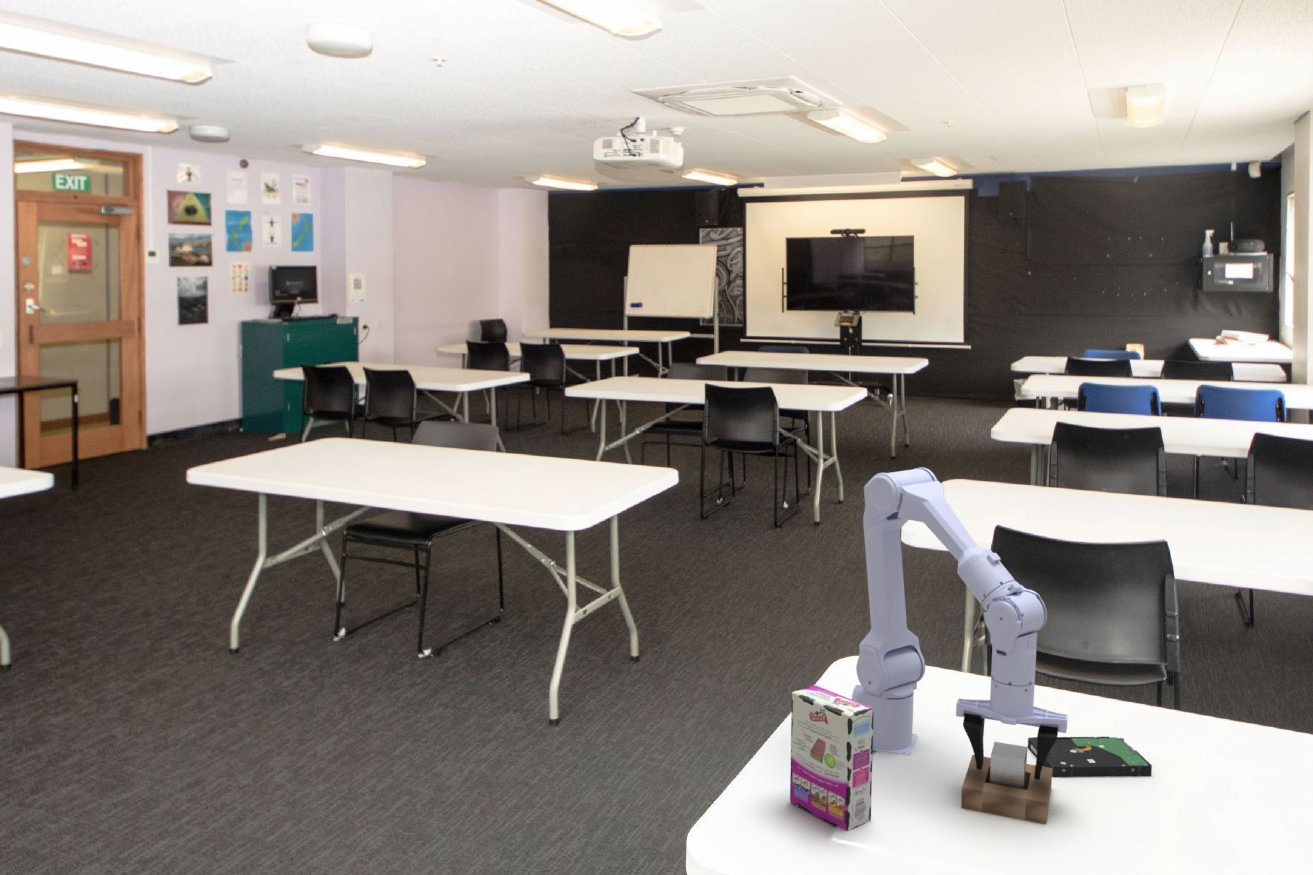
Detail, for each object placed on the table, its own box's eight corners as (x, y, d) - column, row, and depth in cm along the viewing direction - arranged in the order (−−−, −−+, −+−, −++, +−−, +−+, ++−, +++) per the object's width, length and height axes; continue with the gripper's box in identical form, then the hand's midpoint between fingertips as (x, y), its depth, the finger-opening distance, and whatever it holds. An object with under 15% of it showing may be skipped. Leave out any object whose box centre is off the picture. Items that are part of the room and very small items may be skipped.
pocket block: (961, 811, 144) (962, 787, 144) (971, 776, 154) (972, 754, 154) (1046, 827, 140) (1047, 802, 139) (1051, 791, 150) (1052, 768, 149)
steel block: (988, 801, 146) (991, 754, 145) (992, 787, 150) (994, 741, 149) (1022, 807, 144) (1024, 759, 143) (1024, 793, 148) (1027, 746, 147)
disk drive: (1052, 785, 153) (1152, 782, 153) (1053, 767, 153) (1153, 764, 153) (1025, 753, 163) (1119, 751, 164) (1026, 736, 163) (1120, 734, 163)
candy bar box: (873, 823, 141) (876, 707, 139) (847, 835, 138) (850, 716, 136) (813, 791, 150) (815, 682, 147) (788, 802, 147) (789, 690, 144)
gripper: (954, 680, 144) (950, 773, 146) (1067, 696, 138) (1062, 793, 140) (961, 663, 150) (958, 753, 152) (1070, 678, 144) (1065, 771, 146)
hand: (1008, 771), depth 146 cm, fingers open, 7 cm apart
